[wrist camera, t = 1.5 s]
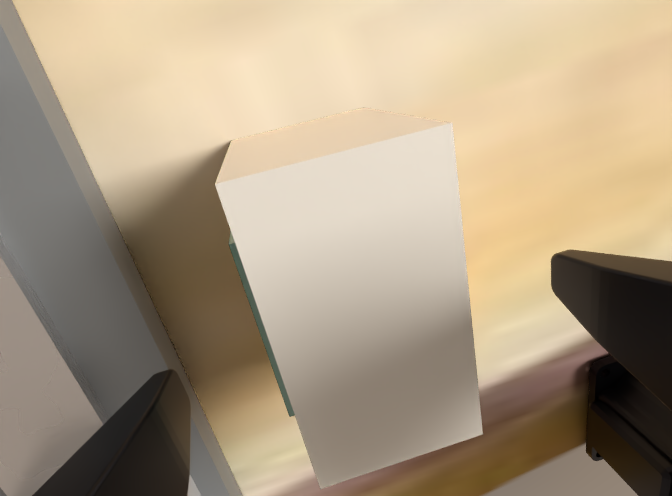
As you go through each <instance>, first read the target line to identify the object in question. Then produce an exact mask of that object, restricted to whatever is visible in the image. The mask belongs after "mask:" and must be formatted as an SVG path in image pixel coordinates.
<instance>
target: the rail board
mask: <svg viewBox="0 0 672 496" xmlns="http://www.w3.org/2000/svg"><path fill="white" fill-rule="evenodd" d="M168 369H174V370H175V371H176V372H177V373H178V375H179V377H180V379H181V381H182V383H183V385H184V388H185V390H186V392H187V394H188V396H189V399H190V404H191V443H190V477H189V487H188V495H187V496H243V495H242V493H241V491H240V489H239V486H238V484H237V482H236V480H235V478H234V476H233V474H232V471H231V469H230V467H229V465H228V463H227V461H226V459H225V456H224V454H223V452H222V450H221V448H220V446H219V444H218V441H217V439H216V437H215V435H214V433H213V431H212V429H211V426H210V424H209V422H208V420H207V418H206V416H205V414H204V411H203V409H202V407H201V405H200V403H199V401H198V399H197V396H196V394H195V392H194V390H193V388H192V386H191V384H190V381H189V379H188V377H187V375H186V373H185V371H184V369H183V366H182V364H181V362H180V360H179V358H178V356H177V354H176V351H175V349H174V347H173V345H172V343H171V341H170V339H169V336H168V334H167V332H166V330H165V328H164V326H163V324H162V321H161V319H160V317H159V315H158V313H157V311H156V308H155V306H154V304H153V302H152V300H151V298H150V296H149V293H148V291H147V289H146V287H145V285H144V283H143V281H142V278H141V276H140V274H139V272H138V270H137V268H136V266H135V263H134V261H133V259H132V257H131V255H130V253H129V251H128V248H127V246H126V244H125V242H124V240H123V238H122V236H121V233H120V231H119V229H118V227H117V225H116V223H115V221H114V218H113V216H112V214H111V212H110V210H109V208H108V206H107V203H106V201H105V199H104V197H103V195H102V193H101V191H100V188H99V186H98V184H97V182H96V180H95V178H94V176H93V173H92V171H91V169H90V167H89V165H88V163H87V161H86V158H85V156H84V154H83V152H82V150H81V148H80V146H79V143H78V141H77V139H76V137H75V135H74V133H73V131H72V128H71V126H70V124H69V122H68V120H67V118H66V116H65V113H64V111H63V109H62V107H61V105H60V103H59V100H58V98H57V96H56V94H55V92H54V90H53V88H52V85H51V83H50V81H49V79H48V77H47V75H46V73H45V70H44V68H43V66H42V64H41V62H40V60H39V58H38V55H37V53H36V51H35V49H34V47H33V45H32V43H31V40H30V38H29V36H28V34H27V32H26V30H25V28H24V25H23V23H22V21H21V19H20V17H19V15H18V13H17V10H16V8H15V6H14V4H13V2H12V0H0V496H32V495H33V494H34V493H35V492H36V491H37V490H38V489H39V488H40V487H41V486H42V485H43V484H44V483H45V482H46V481H47V480H48V479H49V478H50V477H51V476H52V475H53V474H54V473H55V472H56V471H57V470H58V469H59V468H60V467H61V466H62V465H63V464H64V463H65V462H66V461H67V460H68V459H69V458H70V457H71V456H72V455H73V454H74V453H75V452H76V451H77V450H78V449H79V448H80V447H81V446H82V445H83V444H84V443H85V442H86V441H87V440H88V439H89V438H90V437H91V436H92V435H93V434H94V433H95V432H96V431H97V430H98V429H99V428H100V427H101V426H102V425H103V424H104V423H105V422H106V421H107V420H108V419H109V418H110V417H111V416H112V415H113V414H114V413H115V412H116V411H117V410H118V409H119V408H120V407H121V406H122V405H123V404H124V403H125V402H126V401H127V400H128V399H129V398H130V397H131V396H132V395H133V394H134V393H135V392H136V391H138V390H139V389H140V388H141V387H142V386H143V385H144V384H145V383H146V382H147V381H148V380H149V379H150V378H151V377H152V376H153V375H154V374H155V373H158V372H162V371H165V370H168Z"/></svg>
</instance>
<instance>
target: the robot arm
mask: <svg viewBox="0 0 672 496" xmlns="http://www.w3.org/2000/svg"><path fill="white" fill-rule="evenodd" d="M551 286H552V289H553V292H554V293H555V295H556V296H557V297H558V298H559V299H560V301H561V302H562V303H563V304H564V305H565V306H566V307H567V309H568V310H569V311H570V312H571V313H572V314H573V315H574V316H575V318H576V319H577V320H578V321H579V322H580V323H581V324H582V325H583V327H584V328H585V329H586V330H587V331H588V332H589V333H590V334H591V336H592V337H593V338H594V339H595V340H596V341H597V342H598V343H599V344H600V345H601V346H602V347H603V348H604V349H605V350H606V351H607V352H609V353H610V354H611V355H612V356H609V357H606V358H603V359H600V360H598V361H596V362H595V363H593V364H592V366H591V367H590V371H589V394H588V416H587V439H586V453H587V454H588V455H589V456H590V457H591V458H592V459H593V460H595V461H599V460H602V459H604V460H605V461H606V462H607V463H608V464H609V465H610V466H611V467H612V468H613V469H614V470H615V471H616V472H617V473H618V475H619V476H620V477H621V478H622V479H623V480H624V481H625V482H626V483H627V484H628V485H629V486H630V487H631V488H632V489H633V490H634V491H635V492H636V493H637V495H638V496H672V261H664V260H655V259H647V258H638V257H630V256H621V255H613V254H604V253H596V252H587V251H579V250H566V251H563V252H560V253H556V254H554V255H553V257H552V259H551ZM190 443H191V404H190V399H189V396H188V394H187V392H186V390H185V388H184V385H183V383H182V381H181V379H180V377H179V375H178V373H177V372H176V371H175V370H174V369H168V370H165V371H162V372H158V373H155V374H154V375H153V376H152V377H151V378H150V379H149V380H148V381H147V382H146V383H145V384H144V385H143V386H142V387H141V388H140V389H139V390H138V391H136V392H135V393H134V394H133V395H132V396H131V397H130V398H129V399H128V400H127V401H126V402H125V403H124V404H123V405H122V406H121V407H120V408H119V409H118V410H117V411H116V412H115V413H114V414H113V415H112V416H111V417H110V418H109V419H108V420H107V421H106V422H105V423H104V424H103V425H102V426H101V427H100V428H99V429H98V430H97V431H96V432H95V433H94V434H93V435H92V436H91V437H90V438H89V439H88V440H87V441H86V442H85V443H84V444H83V445H82V446H81V447H80V448H79V449H78V450H77V451H76V452H75V453H74V454H73V455H72V456H71V457H70V458H69V459H68V460H67V461H66V462H65V463H64V464H63V465H62V466H61V467H60V468H59V469H58V470H57V471H56V472H55V473H54V474H53V475H52V476H51V477H50V478H49V479H48V480H47V481H46V482H45V483H44V484H43V485H42V486H41V487H40V488H39V489H38V490H37V491H36V492H35V493H34V494H33V495H32V496H187V495H188V487H189V477H190Z"/></svg>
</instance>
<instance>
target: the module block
mask: <svg viewBox="0 0 672 496" xmlns="http://www.w3.org/2000/svg"><path fill="white" fill-rule="evenodd" d="M215 186H216V189H217V192H218V195H219V198H220V201H221V204H222V206H223V209H224V212H225V215H226V218H227V221H228V224H229V227H230V230H231V231H230V238H229V247H230V250H231V253H232V255H233V258H234V261H235V264H236V267H237V270H238V272H239V275H240V278H241V281H242V284H243V287H244V289H245V292H246V295H247V298H248V301H249V303H250V306H251V309H252V312H253V315H254V318H255V320H256V323H257V326H258V329H259V332H260V335H261V337H262V340H263V343H264V346H265V349H266V351H267V354H268V357H269V360H270V363H271V366H272V368H273V371H274V374H275V377H276V380H277V382H278V385H279V388H280V391H281V394H282V397H283V399H284V402H285V405H286V408H287V411H288V414H289V416H290V417H291V416H294V415H295V417H296V420H297V423H298V426H299V429H300V431H301V434H302V437H303V440H304V443H305V446H306V449H307V452H308V455H309V457H310V460H311V463H312V466H313V469H314V472H315V475H316V478H317V480H318V483H319V486H320V489H323V488H326V487H329V486H332V485H335V484H337V483H340V482H343V481H346V480H349V479H352V478H355V477H358V476H361V475H364V474H367V473H370V472H373V471H376V470H379V469H382V468H385V467H388V466H391V465H394V464H397V463H400V462H403V461H405V460H408V459H411V458H414V457H417V456H420V455H423V454H426V453H429V452H432V451H435V450H438V449H441V448H444V447H447V446H450V445H453V444H456V443H459V442H462V441H465V440H468V439H471V438H474V437H476V436H479V435H482V434H483V430H482V420H481V410H480V400H479V389H478V379H477V369H476V359H475V349H474V338H473V328H472V318H471V308H470V298H469V287H468V277H467V267H466V257H465V247H464V236H463V226H462V216H461V206H460V196H459V185H458V175H457V165H456V155H455V145H454V134H453V124H452V123H451V122H445V121H439V120H434V119H428V118H422V117H416V116H411V115H405V114H399V113H393V112H388V111H382V110H376V109H370V108H365V107H363V108H359V109H355V110H351V111H347V112H343V113H339V114H335V115H331V116H327V117H323V118H319V119H315V120H311V121H307V122H303V123H299V124H295V125H291V126H287V127H283V128H279V129H275V130H271V131H267V132H263V133H259V134H255V135H251V136H247V137H243V138H239V139H235V140H231V143H230V145H229V148H228V151H227V153H226V156H225V159H224V161H223V164H222V167H221V169H220V172H219V174H218V177H217V180H216V182H215Z"/></svg>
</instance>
